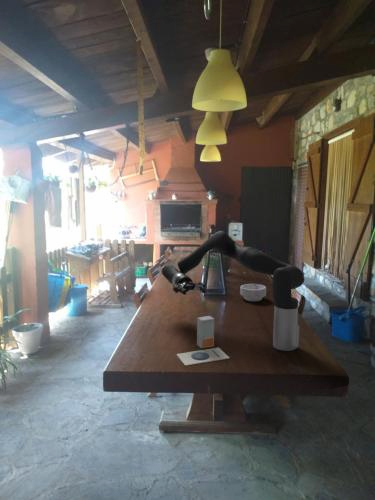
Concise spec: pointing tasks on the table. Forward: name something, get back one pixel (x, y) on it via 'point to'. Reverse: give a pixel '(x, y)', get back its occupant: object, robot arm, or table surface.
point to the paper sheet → (202, 356)
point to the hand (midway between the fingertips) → (194, 291)
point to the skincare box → (205, 332)
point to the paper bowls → (253, 292)
